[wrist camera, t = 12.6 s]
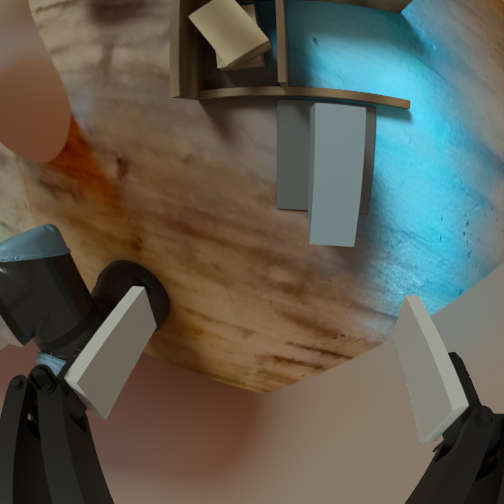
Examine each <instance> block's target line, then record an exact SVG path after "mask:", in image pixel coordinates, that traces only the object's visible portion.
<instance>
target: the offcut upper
mask: <svg viewBox="0 0 504 504" xmlns="http://www.w3.org/2000/svg"><path fill="white" fill-rule="evenodd" d="M188 17H189V18H190V20H191V21H192V22H193V23H194V24H195V26H196V27H197V28H198V29H199V30H200V32H201V33H202V34H203V35H204V37H205V38H206V39H207V40H208V42H209V43H210V44H211V45H212V47H213V48H214V49H215V50H216V52H217V53H218V54H219V56H220V57H221V58H222V60H223V61H224V62H225V63H226V65H227V66H229V67H230V68H232V69H233V70H236V69H238V68H239V67H241V66H243V65H244V64H246V63H247V62H249V61H251V60H252V59H254V58H256V57H258V56H259V55H261V54H263V53H265V52H266V51H268V50H270V49H272V46H271V43H270V41H269V39H268V38H267V37H266V36H265V34H264V33H263V32H262V31H261V29H260V28H259V27H258V26H257V25H256V24H255V22H254V21H253V20H252V19H251V18H250V17H249V15H248V14H247V13H246V12H245V11H244V10H243V9H242V8H241V6H240V5H239V4H238V3H237V2H236V1H235V0H212V1H210V2H209V3H207V4H206V5H204V6H203V7H201V8H200V9H198V10H197V11H195V12H194V13H192V14H191V15H189V16H188Z"/></svg>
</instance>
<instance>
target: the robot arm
mask: <svg viewBox="0 0 504 504" xmlns="http://www.w3.org/2000/svg"><path fill="white" fill-rule="evenodd" d="M70 252H71V250H70V249H69V248H68V247H67V245H66V243H65V241H64V239H63V237H62V235H61V233H60V231H59V229H58V228H57V227H56V226H55V225H53V224H44V225H41V226H38V227H36V228H33V229H30V230H28V231H26V232H23V233H21V234H19V235H16V236H14V237H12V238H10V239H7V240H5V241H3V242H1V243H0V350H1V349H2V348H3V347H5V346H6V345H7V344H13V345H17V346H21V347H23V346H24V345H25V344H26V343H28V342H29V341H30V340H31V339H33V340H34V342H35V343H36V345H37V346H38V347H39V349H40V351H41V352H38V353H37V357H36V363H37V364H38V365H37V366H35V367H34V368H33V369H32V370H31V371H30V373H29V375H28V379H27V378H26V377H25V376H24V375H17V376H16V377H14V378H13V379H12V380H11V381H10V384H9V386H8V389H7V393H6V397H5V400H4V404H3V408H2V413H1V417H0V504H114V502H113V499H112V497H111V494H110V492H109V489H108V487H107V484H106V481H105V478H104V475H103V472H102V469H101V466H100V463H99V460H98V457H97V454H96V450H95V446H94V443H93V439H92V435H91V431H90V427H89V422H88V418H87V415H86V413H85V411H86V409H87V408H88V410H89V411H90V412H91V413H92V414H93V415H95V416H97V417H100V418H102V419H105V420H106V419H107V417H108V414H109V413H110V411H111V409H112V407H113V405H114V403H115V401H116V399H117V397H118V395H119V394H120V392H121V389H122V388H123V386H124V384H125V382H126V380H127V379H128V377H129V375H130V373H131V371H132V369H133V368H134V366H135V364H136V362H137V361H138V359H139V357H140V355H141V353H142V352H143V350H144V348H145V346H146V345H147V343H148V341H149V339H150V338H151V336H152V334H153V333H154V332H156V331H157V330H159V329H160V328H161V327H162V326H163V324H164V323H165V321H166V319H167V318H168V315H169V312H170V303H169V299H168V296H167V294H166V292H165V290H164V288H163V286H162V285H161V284H160V282H159V281H158V280H157V279H156V278H155V277H154V276H153V275H152V274H151V273H150V272H149V271H147V270H146V269H145V268H143V267H141V266H140V265H138V264H135V263H133V262H130V261H124V260H119V261H114V262H112V263H110V264H109V265H108V266H107V267H106V268H105V269H103V270H102V272H101V273H100V274H99V276H98V279H97V282H96V285H95V287H94V288H93V290H92V293H91V294H90V292H89V290H88V289H87V287H86V285H85V283H84V281H83V279H82V277H81V275H80V273H79V271H78V269H77V267H76V265H75V262H74V260H73V258H72V256H71V254H70ZM392 339H393V342H394V345H395V348H396V352H397V355H398V358H399V361H400V364H401V368H402V371H403V374H404V378H405V381H406V385H407V389H408V392H409V396H410V400H411V404H412V408H413V412H414V417H415V421H416V425H417V430H418V434H419V440H420V444H424V443H428V442H432V441H435V440H437V439H438V438H439V437H440V436H441V434H442V435H443V439H444V440H443V441H442V442H441V443H440V444H439V445H438V446H436V448H435V449H434V450H433V452H435V451H436V450H437V449H438V450H437V452H436V454H435V456H434V457H433V459H432V461H431V463H430V465H429V466H428V468H427V470H426V472H425V473H424V475H423V477H422V478H421V480H420V482H419V483H418V485H417V486H416V488H415V489H414V491H413V492H412V494H411V495H410V497H409V498H408V500H407V501H406V502H405V504H504V414H494V413H493V412H492V410H491V409H490V408H488V407H487V406H483V405H481V403H480V401H479V398H478V395H477V393H476V390H475V388H474V386H473V383H472V381H471V378H469V374H468V372H467V371H466V367H465V365H464V363H463V361H462V359H461V358H460V357H459V356H458V355H457V354H456V353H455V352H451V353H447V350H446V348H445V346H444V344H443V342H442V340H441V338H440V336H439V334H438V332H437V330H436V328H435V326H434V324H433V322H432V320H431V318H430V316H429V314H428V312H427V310H426V309H425V307H424V305H423V303H422V301H421V299H420V298H419V296H418V295H412V296H405V298H404V301H403V305H402V308H401V311H400V314H399V317H398V320H397V323H396V326H395V329H394V332H393V334H392ZM29 381H30V382H31V383H30V382H29ZM28 414H30V416H31V419H30V420H28V419H27V417H28Z"/></svg>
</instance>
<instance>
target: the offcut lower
mask: <svg viewBox="0 0 504 504" xmlns="http://www.w3.org/2000/svg"><path fill="white" fill-rule="evenodd" d="M241 8H242V9H243V10H244V11H245V12H246V13H247V14H248V15H249V17H250V18H251V19H252V20H253V21H254V22H255V24H256V25H257V26H258V27H259V28H260V24H259V17H258V12H257V10H256V8H255V6H254V4H252V5H245V6H241ZM216 58H217V66H218V68H219V69H221V70H222V71H224V72H228V71H234V70H233V69H232V68H230V67H229V66H227V65H226V63H225V62H224V61H223V60H222V58H221V57H220V56H219V54H218V53H217V52H216ZM264 66H265V60H264V53H263V54H261V55H259V56H258V57H256V58H254V59H252V60H251V61H249V62H247V63H246V64H244V65H243V66H241V67H239V68H238V69H236V70H241V69H248V68H256V67H264Z"/></svg>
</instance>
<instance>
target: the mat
mask: <svg viewBox="0 0 504 504" xmlns="http://www.w3.org/2000/svg"><path fill="white" fill-rule="evenodd" d="M315 103H326V104H338V105H348V106H357V107H364V108H366V126H365V148H364V163H363V176H362V187H361V197H360V206H359V214H366V215H368V208H369V200H370V192H371V182H372V172H373V160H374V145H375V123H376V107H370V106H363V105H355V104H346V103H336V102H324V101H308V100H277V209H296V210H308V187H309V160H310V108H311V107H312V106H313V105H314V104H315Z"/></svg>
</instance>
